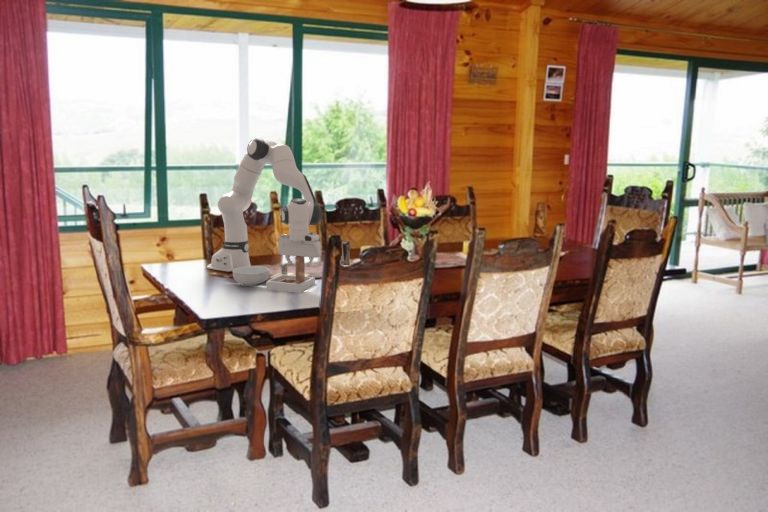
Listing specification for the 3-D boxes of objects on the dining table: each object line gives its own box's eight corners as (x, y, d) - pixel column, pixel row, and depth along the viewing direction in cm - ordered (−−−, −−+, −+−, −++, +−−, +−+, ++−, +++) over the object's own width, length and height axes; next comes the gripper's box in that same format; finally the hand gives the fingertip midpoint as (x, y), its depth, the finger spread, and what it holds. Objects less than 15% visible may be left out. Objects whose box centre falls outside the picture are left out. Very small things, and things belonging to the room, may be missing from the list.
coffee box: (345, 276, 340) (345, 244, 337) (332, 276, 342) (332, 243, 338) (350, 272, 349) (350, 241, 346) (337, 272, 350) (337, 240, 347)
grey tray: (266, 289, 314) (266, 281, 313) (281, 282, 328) (281, 274, 327) (300, 292, 309) (300, 284, 308) (315, 285, 322) (315, 277, 322)
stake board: (268, 279, 333) (268, 265, 332) (281, 273, 346) (281, 260, 344) (299, 282, 328) (299, 268, 327) (311, 276, 340) (310, 262, 339)
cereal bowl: (229, 281, 328) (229, 267, 327) (264, 278, 335) (264, 264, 333) (237, 290, 313) (236, 274, 312) (273, 286, 319) (273, 271, 318)
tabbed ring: (275, 286, 316) (274, 256, 313) (284, 282, 324) (283, 252, 321) (298, 289, 312) (297, 258, 309) (307, 284, 320) (306, 254, 318)
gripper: (275, 235, 313) (275, 265, 315) (316, 238, 306) (317, 269, 309) (281, 232, 318) (282, 262, 321) (322, 235, 312) (323, 266, 315)
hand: (299, 265), depth 315 cm, fingers open, 8 cm apart
